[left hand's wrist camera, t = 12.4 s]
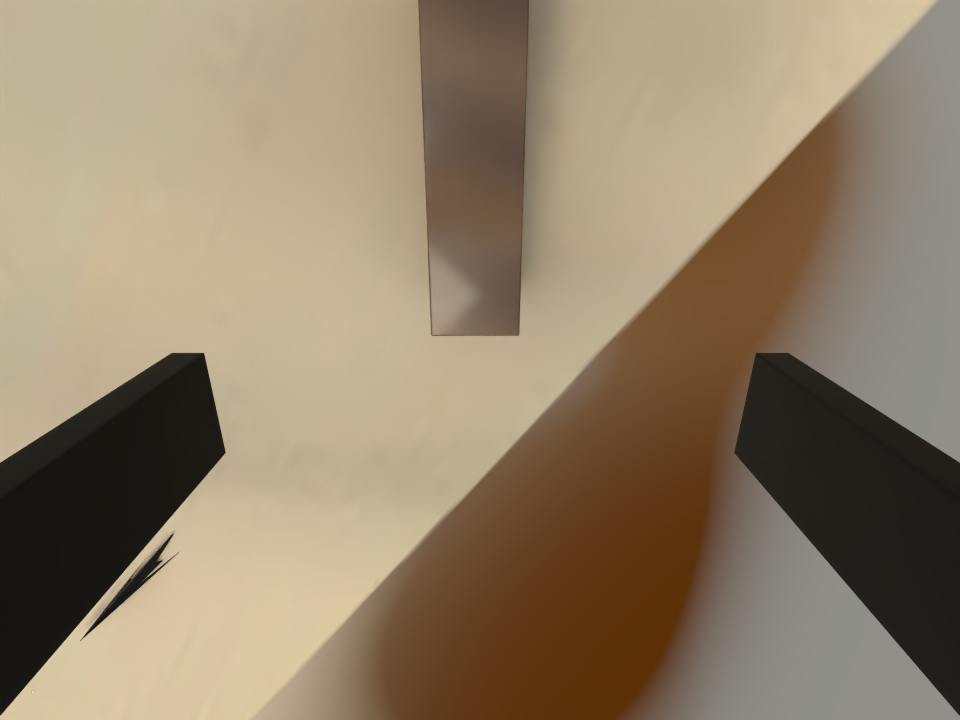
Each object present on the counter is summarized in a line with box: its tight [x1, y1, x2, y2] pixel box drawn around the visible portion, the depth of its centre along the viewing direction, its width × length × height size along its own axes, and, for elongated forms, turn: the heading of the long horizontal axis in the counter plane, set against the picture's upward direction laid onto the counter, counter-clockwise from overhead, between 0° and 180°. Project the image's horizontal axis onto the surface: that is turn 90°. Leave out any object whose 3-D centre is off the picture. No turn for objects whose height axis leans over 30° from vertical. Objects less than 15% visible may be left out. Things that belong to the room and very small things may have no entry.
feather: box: [31, 534, 179, 693], centre depth 47 cm, size 2×28×2 cm
